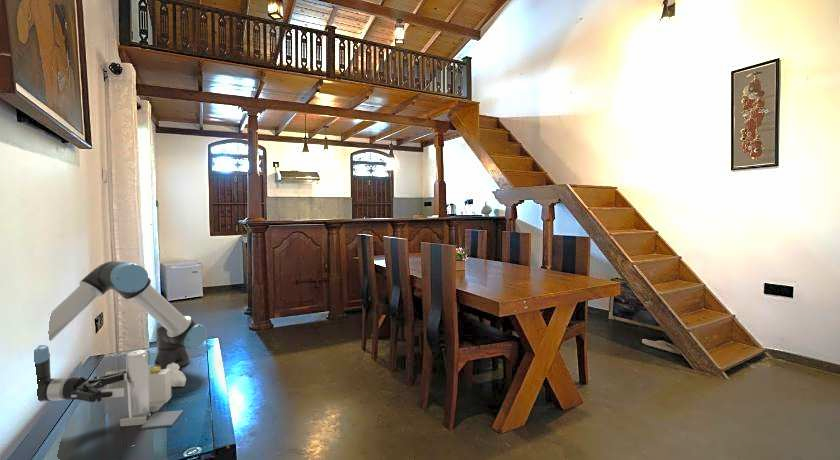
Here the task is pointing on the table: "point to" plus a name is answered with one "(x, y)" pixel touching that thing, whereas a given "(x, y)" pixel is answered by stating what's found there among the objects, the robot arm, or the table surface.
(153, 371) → the release button
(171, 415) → the mat
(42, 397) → the robot arm
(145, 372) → the air filter
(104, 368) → the table surface
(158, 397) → the housing
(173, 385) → the duck figurine
